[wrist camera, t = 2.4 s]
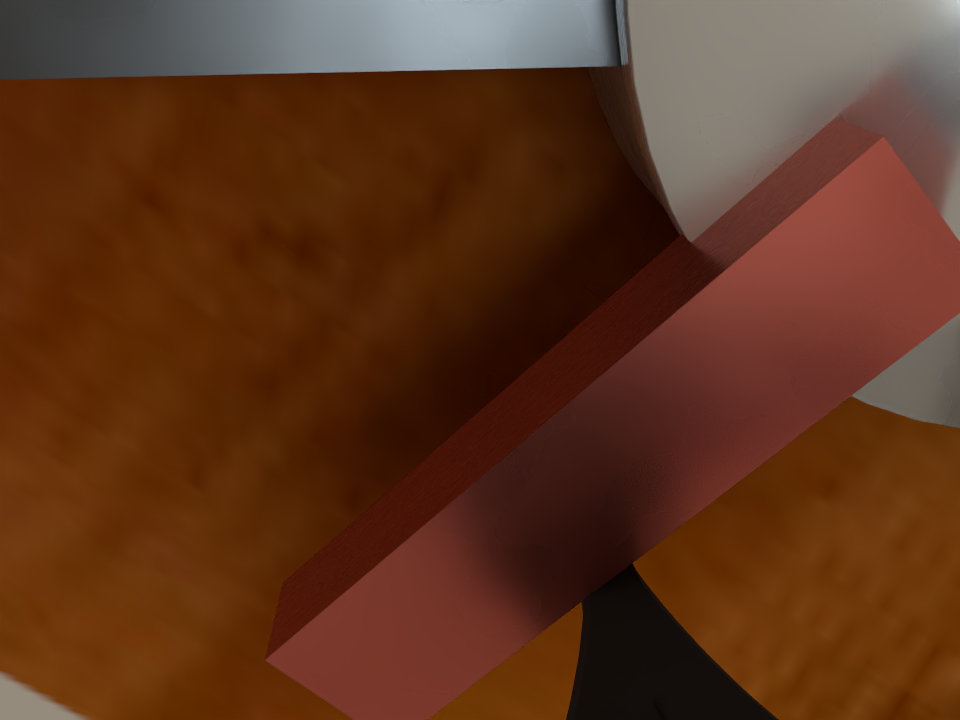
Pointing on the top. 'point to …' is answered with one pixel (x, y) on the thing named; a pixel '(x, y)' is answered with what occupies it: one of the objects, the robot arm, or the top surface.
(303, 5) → the pot
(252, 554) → the top surface
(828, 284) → the lid
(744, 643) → the top surface
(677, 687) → the robot arm
